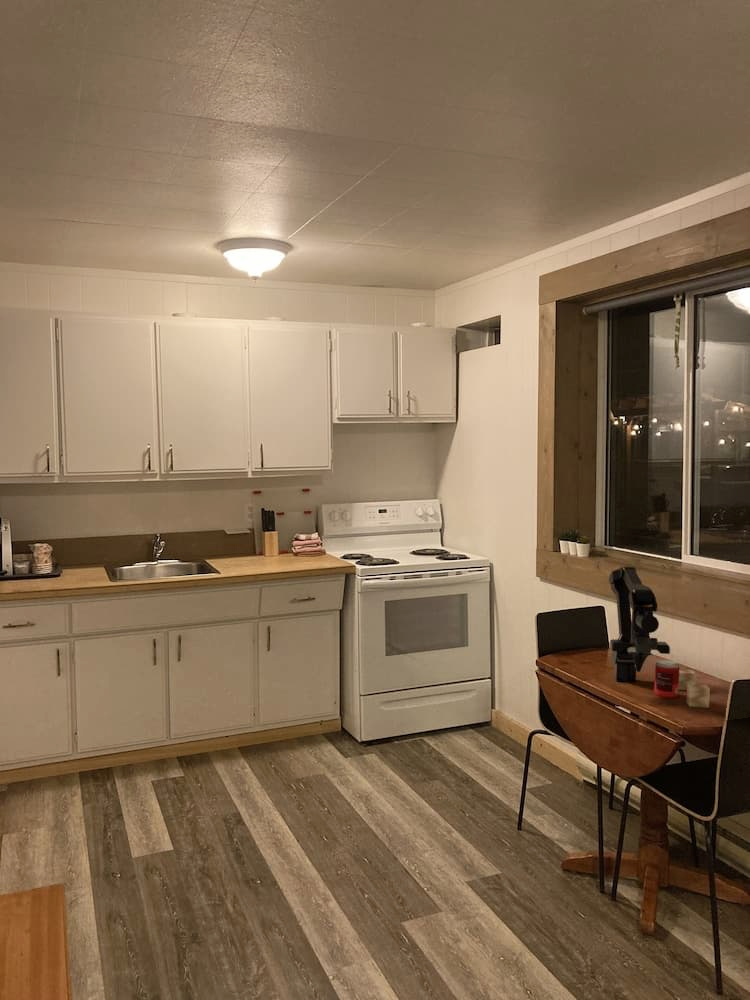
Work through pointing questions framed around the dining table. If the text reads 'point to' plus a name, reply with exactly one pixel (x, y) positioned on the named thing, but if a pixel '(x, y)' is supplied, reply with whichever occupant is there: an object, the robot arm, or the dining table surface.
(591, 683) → the dining table surface
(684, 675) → the grey-green block
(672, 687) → the canned food
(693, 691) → the beech block
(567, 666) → the dining table surface
